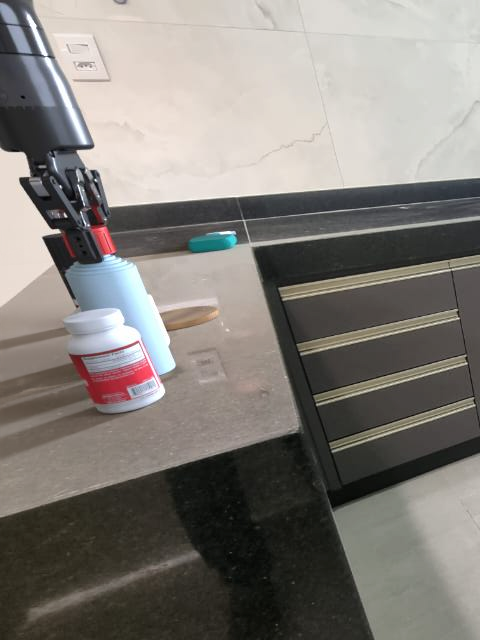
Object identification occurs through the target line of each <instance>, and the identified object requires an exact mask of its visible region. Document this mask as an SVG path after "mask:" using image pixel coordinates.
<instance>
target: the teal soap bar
mask: <svg viewBox="0 0 480 640" xmlns="http://www.w3.org/2000/svg"><path fill="white" fill-rule="evenodd" d="M235 235H237V233H236V231H235V230H233V231H231V230H230V231H229V230H228V231H227V230H226V231H215V232H209V233H205V234H204V235H199V236H195V237H192V238H190V240H189V241H188V243H187V248H188V249H189V250H190V251H191V252H193V253H196V254H197V253H206V252H214V251H222V250H223V251H225V250H230V249H232V248H233V247H234V246H235V245H236V244H237V241H238V239H237V237H236V236H235Z"/></svg>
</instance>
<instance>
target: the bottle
mask: <svg viewBox="0 0 480 640" xmlns="http://www.w3.org/2000/svg"><path fill="white" fill-rule="evenodd" d="M103 256H104V261H103V262H101V263H97V264H87V265H82V264H80V263H79V262H78V261H77V262H75V263H74V265H72V266H70V269H68V270H66V272H67V273H66V274H65V276H66V278H67V280H68V283H69V285H70V287H71V289H72V291H73V294H74V296H75V298H76V300H77V302H78V304H79V307H80V309H81V311H82V312H85V311H90V310H96V309H105V308H116V309H119V310H120V312H121V314H122V316H123V318H124V323H123V325H124V326H128V327H131V328H134V329H135V330H137V331H138V332H139V334H140V336H141V338H142V340H143V342H144V345H145V347H146V349H147V351H148V354H149V356H150V358H151V360H152V362H153V365H154V367H155V369H156V371H157V373H158V376H159V377H160V376H163V375H164V374H167V373H169V372H171V371H173V370H174V369H175V368H176V362H175V360H174V358H173V355H172V352H171V350H170V347H169V345H167V342H166V340H165V337H164V335H163V332H162V330H161V327H160V325H159V322H158V320H157V317H156V315H155V312H154V310H153V307H152V305H151V302H150V300H149V297H148V295H149V294H148V293H147V290H146V287H145V285H144V283H143V280H142V277H141V275H140V273H139V271H138V268H137V266H136V264H134V263H133V262H132V261H129V260H127V259H126V258H125V259H124V258H121V257H120V256H116V255H115V256H114V255H110V254H109V255H103ZM147 294H148V295H147Z"/></svg>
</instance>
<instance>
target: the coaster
mask: <svg viewBox="0 0 480 640" xmlns="http://www.w3.org/2000/svg"><path fill="white" fill-rule="evenodd" d="M159 315H160V317H161V320H162V322H163V324H164V327H165V329H166V331H172V330H173V331H174V330H180V329H185V328H190V327H194V326H198V325H202V324H205V323H207V322H210V321H212V320H214V319H217V318H218V317H219V315H220V313H219V309H218V307H216V306H212V305H196V306H188V307H187V306H186V307H181V308H176V309H172V310H168V311H163V312H160V313H159Z"/></svg>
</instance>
